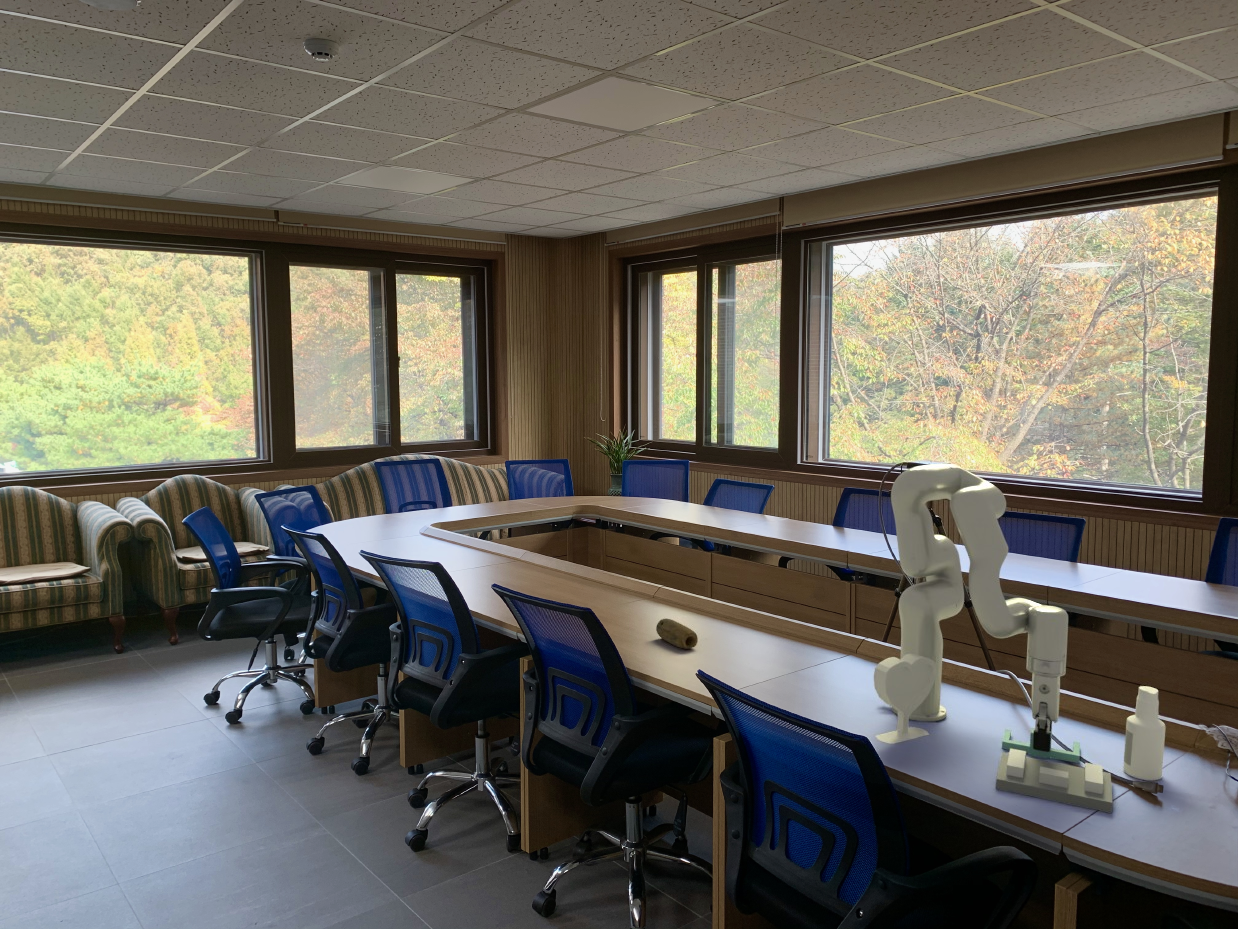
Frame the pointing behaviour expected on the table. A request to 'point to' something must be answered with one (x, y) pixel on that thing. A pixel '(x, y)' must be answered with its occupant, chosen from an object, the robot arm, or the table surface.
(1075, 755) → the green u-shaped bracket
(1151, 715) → the white bottle
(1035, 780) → the stand
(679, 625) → the stone weight
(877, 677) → the heart sculpture
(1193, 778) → the table surface
